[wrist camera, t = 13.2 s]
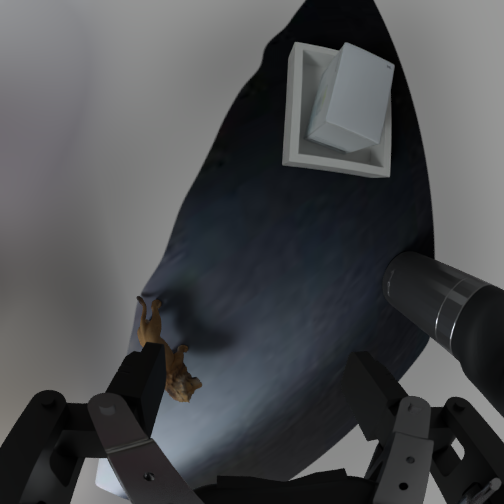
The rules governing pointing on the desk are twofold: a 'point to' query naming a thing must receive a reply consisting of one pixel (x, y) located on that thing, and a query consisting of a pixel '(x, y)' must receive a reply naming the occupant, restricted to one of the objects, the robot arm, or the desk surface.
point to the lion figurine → (168, 356)
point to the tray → (298, 113)
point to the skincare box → (351, 101)
